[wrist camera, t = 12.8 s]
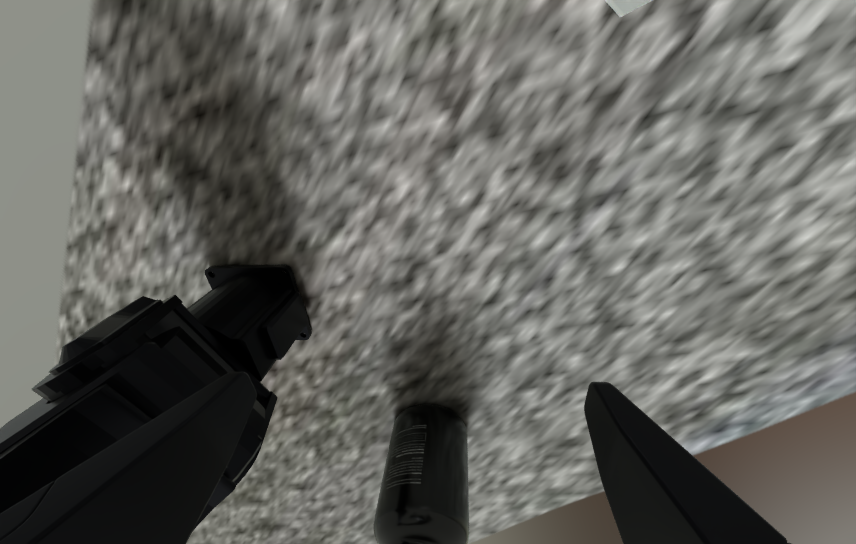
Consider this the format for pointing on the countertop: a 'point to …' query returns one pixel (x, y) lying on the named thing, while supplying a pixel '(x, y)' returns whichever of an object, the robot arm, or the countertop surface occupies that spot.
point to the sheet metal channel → (625, 5)
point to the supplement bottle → (425, 480)
